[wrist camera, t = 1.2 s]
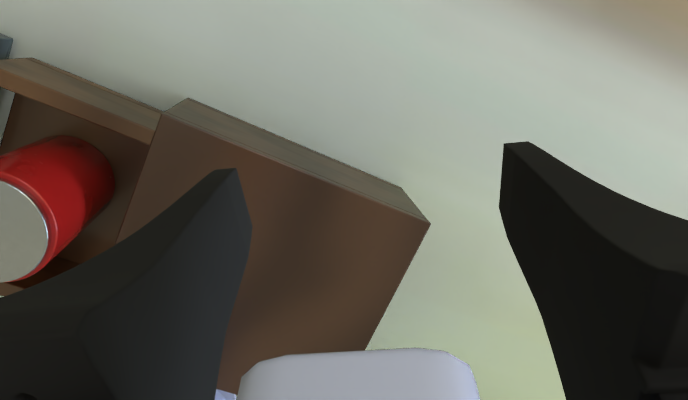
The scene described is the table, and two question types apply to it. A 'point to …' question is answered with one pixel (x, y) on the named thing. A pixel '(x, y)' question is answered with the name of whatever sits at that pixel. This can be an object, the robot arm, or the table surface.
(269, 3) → the table surface
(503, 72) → the table surface
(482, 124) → the table surface
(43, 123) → the drawer
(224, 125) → the cabinet
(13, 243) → the can
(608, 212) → the robot arm
